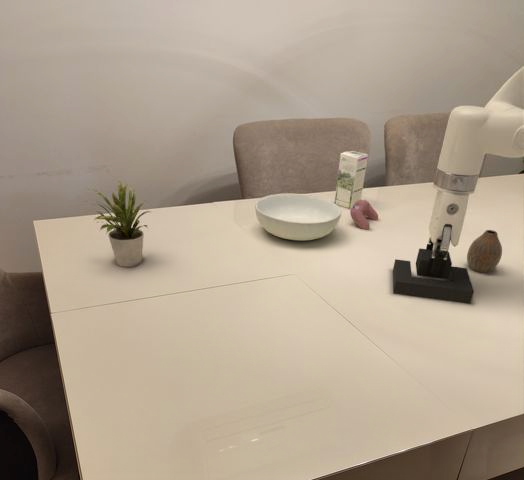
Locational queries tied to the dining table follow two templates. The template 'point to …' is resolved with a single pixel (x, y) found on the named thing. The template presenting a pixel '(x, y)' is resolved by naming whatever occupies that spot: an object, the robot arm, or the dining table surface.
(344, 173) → the syrup box
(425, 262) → the black block
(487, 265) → the vase
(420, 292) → the notched pad
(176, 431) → the dining table surface
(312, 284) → the dining table surface
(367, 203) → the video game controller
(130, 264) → the house plant
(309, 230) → the serving bowl
